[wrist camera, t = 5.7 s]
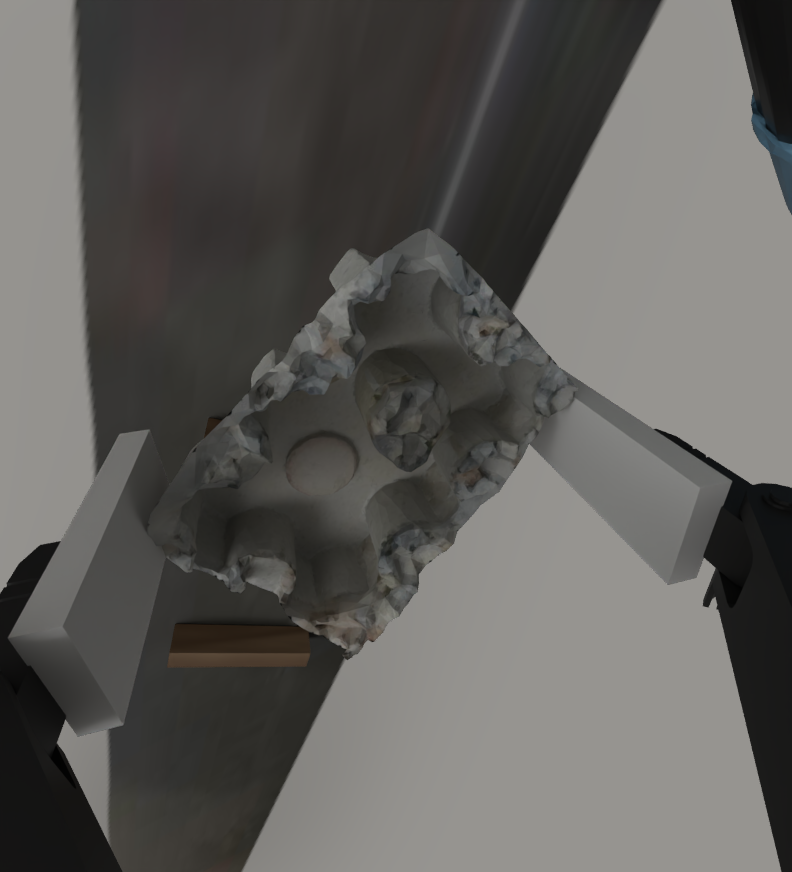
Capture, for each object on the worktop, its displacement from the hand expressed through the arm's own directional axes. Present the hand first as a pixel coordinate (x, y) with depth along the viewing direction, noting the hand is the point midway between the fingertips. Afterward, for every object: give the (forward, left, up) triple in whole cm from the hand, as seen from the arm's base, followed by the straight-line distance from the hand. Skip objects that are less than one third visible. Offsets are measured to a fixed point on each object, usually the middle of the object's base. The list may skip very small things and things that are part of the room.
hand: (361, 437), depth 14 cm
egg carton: (0, 0, -1) cm, 1 cm away
